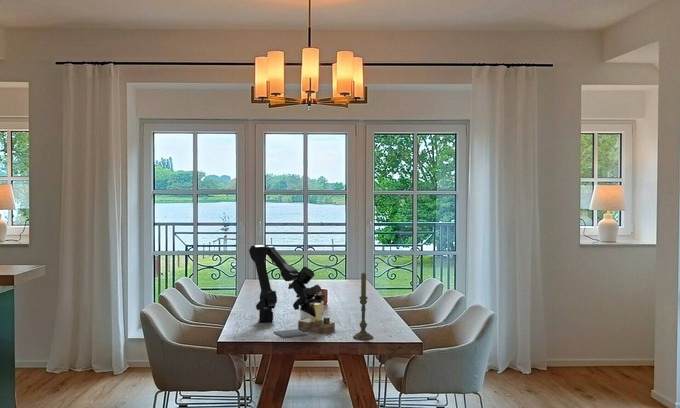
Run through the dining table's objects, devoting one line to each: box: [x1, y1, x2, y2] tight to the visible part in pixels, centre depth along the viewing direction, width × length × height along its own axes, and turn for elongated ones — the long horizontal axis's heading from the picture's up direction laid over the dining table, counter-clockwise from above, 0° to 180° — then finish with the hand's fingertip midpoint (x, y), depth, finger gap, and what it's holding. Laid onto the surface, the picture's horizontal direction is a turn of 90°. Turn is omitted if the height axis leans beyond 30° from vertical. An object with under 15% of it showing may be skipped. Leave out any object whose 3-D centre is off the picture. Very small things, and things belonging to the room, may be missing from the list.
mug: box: [299, 296, 324, 320], centre depth 318 cm, size 12×9×11 cm
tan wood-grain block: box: [311, 302, 323, 323], centre depth 293 cm, size 3×5×10 cm, turn 144°
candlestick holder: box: [352, 272, 374, 341], centre depth 277 cm, size 9×9×30 cm
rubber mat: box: [273, 328, 308, 339], centre depth 284 cm, size 12×12×1 cm
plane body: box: [297, 316, 336, 335], centre depth 293 cm, size 16×8×6 cm, turn 54°
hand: (318, 315), depth 292 cm, fingers closed on tan wood-grain block, 5 cm apart
